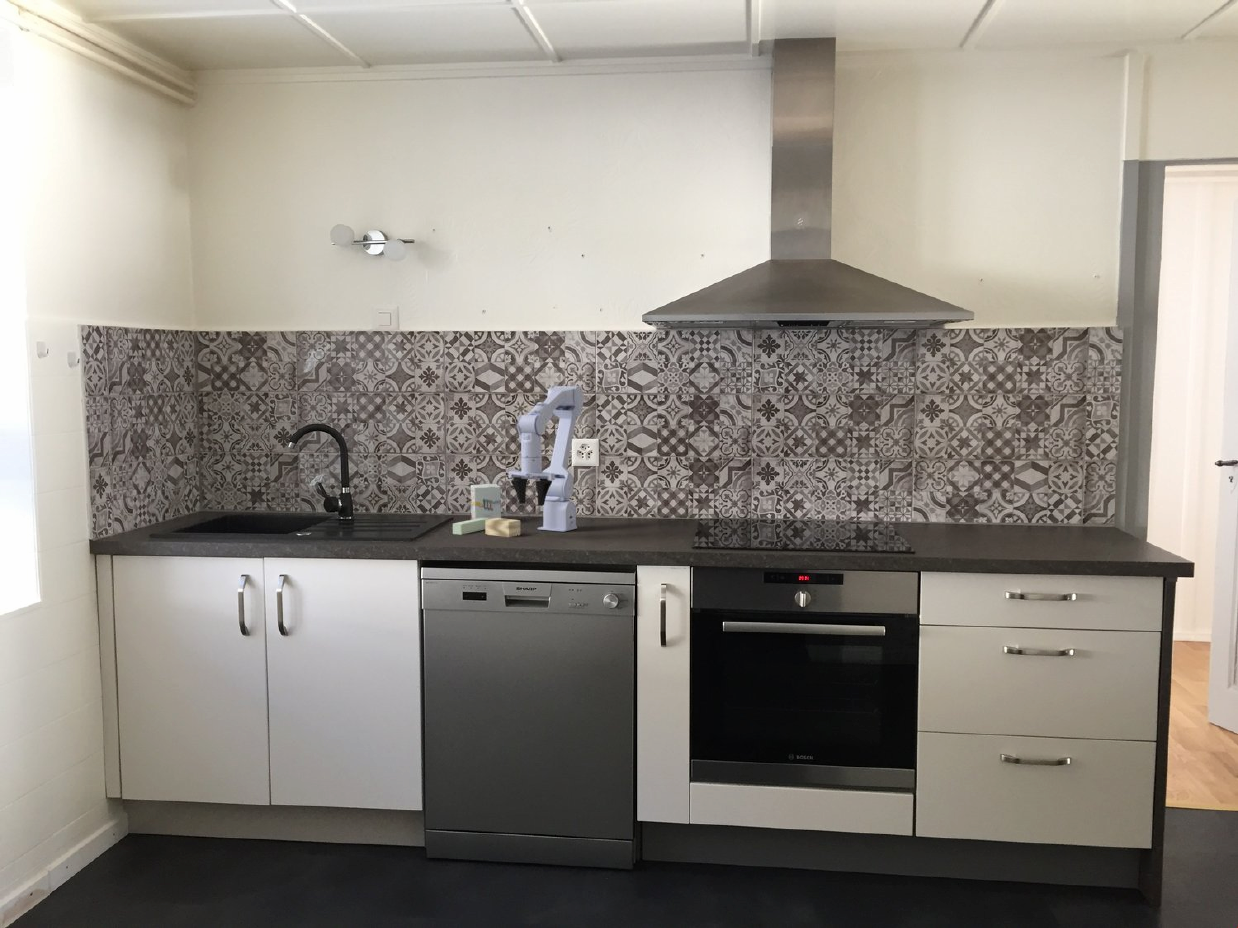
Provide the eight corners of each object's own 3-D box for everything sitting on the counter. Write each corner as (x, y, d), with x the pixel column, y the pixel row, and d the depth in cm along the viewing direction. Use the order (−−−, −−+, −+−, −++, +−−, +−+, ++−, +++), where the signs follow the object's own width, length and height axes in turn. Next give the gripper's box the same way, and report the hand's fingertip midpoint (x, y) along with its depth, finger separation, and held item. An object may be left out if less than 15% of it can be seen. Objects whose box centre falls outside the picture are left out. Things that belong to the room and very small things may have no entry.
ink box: (470, 520, 314) (469, 484, 313) (496, 519, 316) (496, 483, 315) (474, 524, 305) (474, 486, 304) (501, 523, 308) (501, 486, 307)
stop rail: (489, 528, 298) (489, 518, 298) (461, 534, 286) (461, 524, 285) (481, 527, 299) (481, 517, 299) (452, 533, 287) (452, 523, 287)
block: (520, 535, 286) (520, 520, 285) (509, 537, 281) (508, 522, 281) (496, 532, 291) (496, 517, 290) (485, 535, 286) (485, 519, 286)
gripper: (502, 456, 279) (502, 504, 280) (545, 458, 272) (545, 507, 274) (516, 455, 285) (516, 501, 287) (558, 457, 279) (559, 504, 280)
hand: (531, 504), depth 281 cm, fingers open, 6 cm apart
